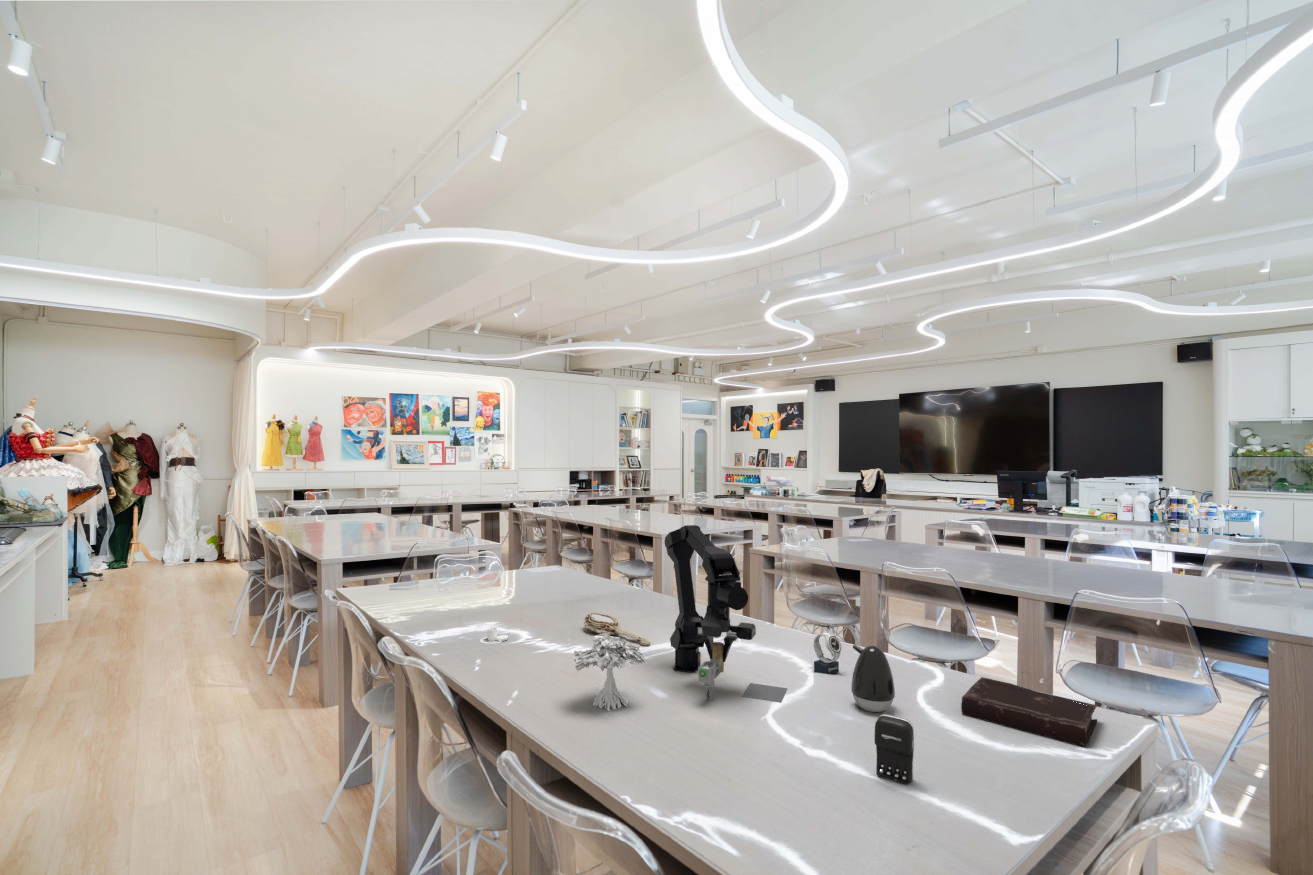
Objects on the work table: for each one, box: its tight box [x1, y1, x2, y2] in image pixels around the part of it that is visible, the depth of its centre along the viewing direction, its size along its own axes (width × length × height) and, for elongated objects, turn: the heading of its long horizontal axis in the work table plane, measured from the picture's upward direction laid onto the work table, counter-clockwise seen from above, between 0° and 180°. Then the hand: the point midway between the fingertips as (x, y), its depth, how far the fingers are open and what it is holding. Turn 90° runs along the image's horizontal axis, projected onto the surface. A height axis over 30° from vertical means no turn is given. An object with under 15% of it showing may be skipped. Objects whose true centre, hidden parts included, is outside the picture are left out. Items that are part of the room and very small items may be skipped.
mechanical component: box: [697, 658, 721, 702], centre depth 156 cm, size 3×10×10 cm, turn 155°
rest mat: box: [741, 682, 789, 704], centre depth 161 cm, size 10×10×1 cm
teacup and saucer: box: [479, 627, 509, 645], centre depth 206 cm, size 9×8×4 cm
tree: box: [572, 633, 647, 712], centre depth 156 cm, size 18×16×17 cm
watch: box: [812, 632, 842, 676], centre depth 179 cm, size 6×8×11 cm
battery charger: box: [874, 714, 915, 785], centre depth 121 cm, size 7×4×11 cm, turn 56°
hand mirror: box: [583, 611, 651, 647], centre depth 211 cm, size 11×6×30 cm
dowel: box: [712, 641, 725, 674], centre depth 164 cm, size 3×3×7 cm
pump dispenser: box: [850, 644, 896, 713], centre depth 155 cm, size 10×10×15 cm
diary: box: [960, 676, 1098, 748], centre depth 150 cm, size 19×25×5 cm
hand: (718, 660), depth 164 cm, fingers closed on dowel, 3 cm apart
